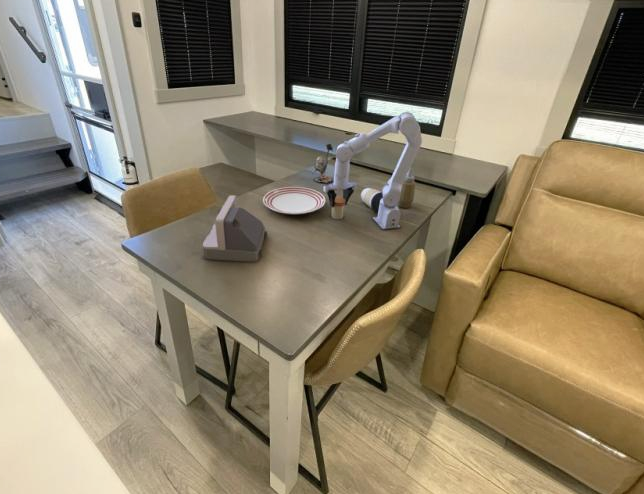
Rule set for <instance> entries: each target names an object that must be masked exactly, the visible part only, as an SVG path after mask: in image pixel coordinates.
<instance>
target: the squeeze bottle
mask: <svg viewBox="0 0 644 494" xmlns="http://www.w3.org/2000/svg"><path fill="white" fill-rule="evenodd" d="M415 178H416V177H415V176H414V175H413V168H412V167H410V169H409V171H408V173H407V175H406V178H405V180H404V182H403V184H402V188H401V192H400V195H399V202H398V207H400V208H404V209H407V208H410V207H411V205H412V204H413V203H414V199H415V193H416V192H415V190H416V182H415Z"/></svg>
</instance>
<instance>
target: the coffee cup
mask: <svg viewBox="0 0 644 494" xmlns="http://www.w3.org/2000/svg"><path fill="white" fill-rule="evenodd" d="M360 198H361V200H362V201H363V202H364V203H365V204H366V205H367V206H368V208H370V209H371V210H372V211H373V212H375V213H378V211H379V205H380V200H381V199H382V198H383V194H382V190H378V189H374V188H371V187H366V188H364V189H363V190H361V193H360Z"/></svg>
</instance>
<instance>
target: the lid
mask: <svg viewBox="0 0 644 494" xmlns="http://www.w3.org/2000/svg"><path fill="white" fill-rule="evenodd" d="M345 202H346V200H345V199H344V198H343V196H342V197H341V196H336V198H335V204H334V205H335V206H344V205H345ZM345 206H346V205H345ZM345 206H344V207H345Z"/></svg>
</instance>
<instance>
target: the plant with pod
mask: <svg viewBox="0 0 644 494" xmlns="http://www.w3.org/2000/svg"><path fill="white" fill-rule="evenodd" d="M325 146H326V150H327V154H326V158H325V157H323V156H321V155H318V157H317V158H316V161H315V162H314V165H313V166H314V171H313V172H312V175H314V174H315V173H316V172H317V171H318V173H320V176H318V177H317V178H315V179H314V181H316V182H318V183H321V182H322V183H325V184H328V183H329V182H332V181H333V182H334V179H331V178H329V176H328V175H326V170H327V168H328V163H329V162H328V159H327V158H328V156H329V152H330V151H332V152H334V150H333V149H334V146H333V144H332V143H331V142H329V143H326V145H325Z"/></svg>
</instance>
